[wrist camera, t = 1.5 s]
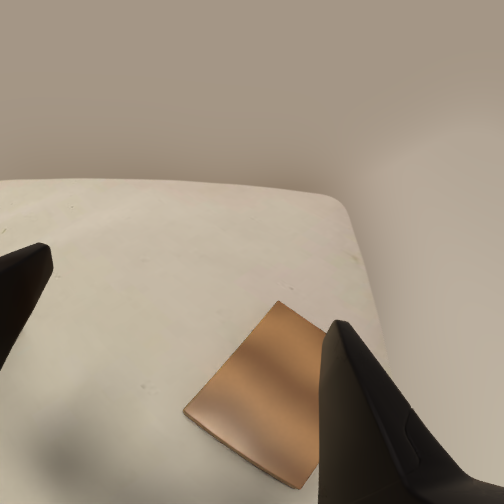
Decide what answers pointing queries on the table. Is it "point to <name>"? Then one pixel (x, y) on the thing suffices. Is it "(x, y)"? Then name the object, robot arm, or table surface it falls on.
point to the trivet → (268, 397)
